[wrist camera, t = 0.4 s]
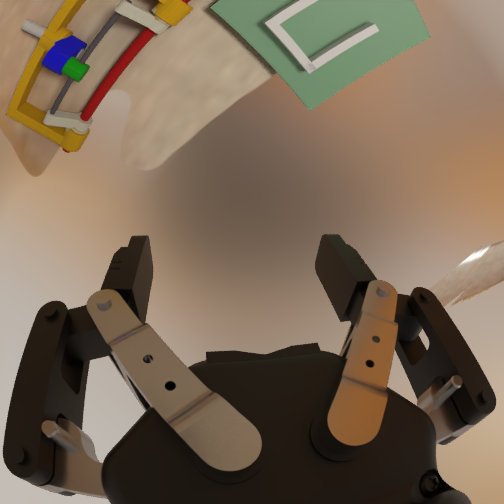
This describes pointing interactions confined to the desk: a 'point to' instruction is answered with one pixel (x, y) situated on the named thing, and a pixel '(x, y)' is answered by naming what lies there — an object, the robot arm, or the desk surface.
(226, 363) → the robot arm
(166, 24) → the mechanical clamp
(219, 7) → the green plate with u-rail
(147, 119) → the desk surface
